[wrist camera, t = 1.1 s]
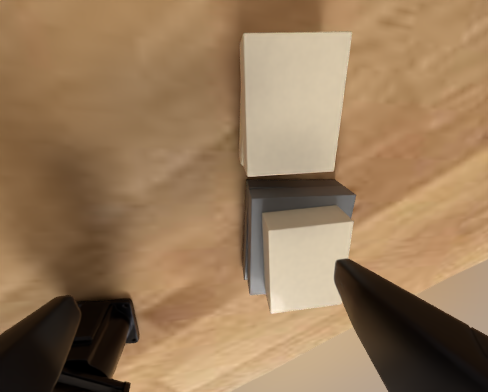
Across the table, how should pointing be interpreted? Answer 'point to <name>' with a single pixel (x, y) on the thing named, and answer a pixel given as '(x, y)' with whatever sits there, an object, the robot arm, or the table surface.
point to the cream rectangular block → (304, 256)
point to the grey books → (279, 199)
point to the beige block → (291, 100)
